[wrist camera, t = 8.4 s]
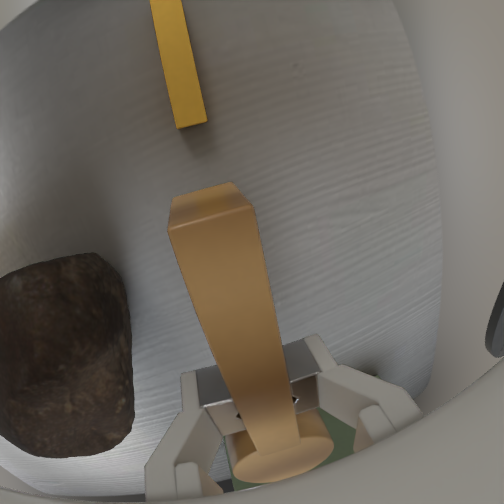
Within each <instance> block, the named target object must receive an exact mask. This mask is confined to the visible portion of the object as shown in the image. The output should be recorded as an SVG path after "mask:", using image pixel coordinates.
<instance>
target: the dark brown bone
mask: <svg viewBox="0 0 504 504" xmlns="http://www.w3.org/2000/svg"><path fill="white" fill-rule="evenodd" d="M131 348H132V333H131V323H130V314H129V310H128V305H127V299H126V293H125V289H124V286H123V283H122V280H121V278H120V276H119V275H118V273H117V272H116V271H115V270H114V268H113V267H112V266H111V265H110V264H109V263H108V262H106V261H105V260H104V259H103V258H101V257H100V256H99V255H98V254H96V253H84V254H76V255H72V256H66V257H61V258H57V259H53V260H50V261H46V262H39V263H36V264H32V265H29V266H26V267H23V268H21V269H19V270H16V271H13V272H11V273H8V274H7V275H5V276H3V277H1V278H0V435H1V436H3V437H4V438H5V439H6V440H8V441H9V442H11V443H12V444H14V445H15V446H16V447H18V448H20V449H21V450H23V451H25V452H27V453H29V454H31V455H34V456H37V457H46V458H68V457H77V456H91V455H95V454H99V453H102V452H105V451H109V450H111V449H112V448H114V447H115V446H116V445H118V444H119V443H121V442H122V441H123V439H124V438H125V437H126V436H127V435H128V434H129V433H130V432H131V429H132V424H133V421H134V418H135V410H134V387H133V368H132V354H131Z"/></svg>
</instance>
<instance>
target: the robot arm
mask: <svg viewBox="0 0 504 504" xmlns="http://www.w3.org/2000/svg"><path fill="white" fill-rule="evenodd" d="M282 347H283V352H284V357H285V362H286V367H287V372H288V377H289V384H290V389H291V394H292V398H293V404H294V409H295V415H296V414H299V413H302V412H306V411H309V410H312V409H314V408H317V407H320V408H321V409H323V410H324V411H326V412H327V413H329V414H331V415H332V416H334V417H336V418H337V419H339V420H341V421H342V422H344V423H346V424H347V425H349V426H351V427H353V428H354V429H356V434H355V440H354V445H353V450H354V452H355V453H353V454H351V455H349V456H346V457H344V458H342V459H339V460H337V461H334V462H332V463H329V464H327V465H324V466H321V467H319V468H316V469H313V470H310V471H307V472H304V473H301V474H298V475H295V476H292V477H289V478H286V479H282V480H279V481H275V482H272V483H268V484H264V485H260V486H256V487H252V488H248V489H243V490H239V491H234V492H229V493H223V489H221V487H220V486H218V485H217V484H216V483H215V482H214V481H213V480H212V479H211V478H210V477H209V476H208V473H209V471H210V468H211V466H212V463H213V461H214V458H215V456H216V454H217V451H218V449H219V446H220V444H221V441H222V439H223V437H222V436H225V435H229V434H232V433H236V432H240V431H243V430H247V429H246V427H245V425H244V423H243V420H242V419H241V417H240V415H239V412H238V410H237V408H236V405H235V403H234V401H233V399H232V397H231V395H230V393H229V391H228V388H227V386H226V384H225V382H224V379H223V377H222V375H221V372H220V370H219V368H218V365H214V366H210V367H205V368H201V369H196V370H193V371H189V372H184V373H181V377H180V378H181V395H182V409H183V412H181V413H178V414H177V416H176V418H175V419H174V421H173V422H172V424H171V426H170V427H169V429H168V430H167V432H166V433H165V435H164V437H163V438H162V440H161V441H160V443H159V444H158V446H157V448H156V449H155V451H154V452H153V454H152V455H151V457H150V459H149V460H148V462H147V463H146V465H145V466H144V467H145V497H146V502H136V503H135V502H134V503H133V502H132V503H119V502H117V503H116V502H115V503H114V502H93V501H80V500H71V499H62V498H55V497H48V496H43V495H37V494H31V493H27V492H22V491H18V490H14V489H10V488H6V487H2V486H0V504H504V358H502V359H501V360H500V361H499V362H498V363H497V364H496V365H494V366H493V367H492V368H491V369H490V370H489V371H487V372H486V373H485V374H484V375H482V376H481V377H480V378H479V379H477V380H476V381H475V382H473V383H472V384H471V385H470V386H468V387H467V388H466V389H464V390H463V391H461V392H460V393H459V394H457V395H456V396H455V397H453V398H452V399H450V400H449V401H447V402H446V403H444V404H443V405H442V406H440V407H438V408H437V409H435V410H434V411H432V412H431V413H429V414H427V415H426V416H424V414H423V413H422V412H421V410H420V409H419V408H418V406H417V405H416V404H415V402H414V401H413V400H412V398H411V397H410V396H409V394H408V393H407V392H406V390H405V389H404V388H403V387H400V386H397V385H394V384H392V383H389V382H387V381H384V380H381V379H379V378H376V377H374V376H371V375H368V374H366V373H363V372H361V371H358V370H356V369H353V368H351V367H349V366H346V365H344V364H341V365H339V366H338V364H337V363H336V361H335V360H334V358H333V356H332V355H331V353H330V352H329V350H328V349H327V347H326V345H325V344H324V342H323V341H322V339H321V338H320V336H319V335H318V334H313V335H311V336H308V337H305V338H302V339H299V340H297V341H294V342H291V343H288V344H285V345H282Z"/></svg>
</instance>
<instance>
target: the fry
mask: <svg viewBox="0 0 504 504" xmlns="http://www.w3.org/2000/svg"><path fill="white" fill-rule="evenodd" d="M150 6H151V11H152V16H153V22H154V27H155V32H156V37H157V42H158V47H159V52H160V57H161V62H162V66H163V71H164V76H165V80H166V85H167V89H168V94H169V98H170V103H171V107H172V111H173V116H174V120H175V124H176V128H177V129H181V128H185V127H189V126H193V125H197V124H201V123H205V122H207V121H208V120H207V115H206V111H205V107H204V102H203V98H202V93H201V89H200V84H199V80H198V75H197V71H196V66H195V62H194V57H193V53H192V48H191V44H190V39H189V34H188V30H187V25H186V20H185V16H184V11H183V6H182V1H181V0H150Z"/></svg>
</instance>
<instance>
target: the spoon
mask: <svg viewBox="0 0 504 504" xmlns="http://www.w3.org/2000/svg"><path fill="white" fill-rule="evenodd" d="M167 232H168V235H169V238H170V241H171V244H172V247H173V250H174V253H175V256H176V259H177V262H178V265H179V267H180V270H181V273H182V276H183V279H184V281H185V284H186V287H187V290H188V292H189V295H190V298H191V300H192V303H193V306H194V308H195V311H196V314H197V316H198V319H199V321H200V324H201V326H202V329H203V332H204V334H205V336H206V339H207V341H208V344H209V346H210V349H211V351H212V354H213V356H214V358H215V361H216V363H217V365H218V368H219V370H220V372H221V375H222V377H223V379H224V382H225V384H226V386H227V388H228V391H229V393H230V395H231V397H232V399H233V401H234V403H235V405H236V408H237V410H238V412H239V415H240V417H241V419H242V420H243V423H244V425H245V427H246V429H247V430H243V431H240V432H236V433H232V434H229V435H225V440H226V445H227V450H228V455H229V459H230V464H231V468H232V472H233V475H234V476H235V477H236V478H237V479H239V480H241V481H245V482H250V483H268V482H275V481H279V480H282V479H286V478H289V477H292V476H295V475H298V474H301V473H304V472H306V471H308V470H310V469H312V468H314V467H316V466H317V465H319V464H320V463H321V462H323V461H324V460H325V459H326V458H327V457H328V456H329V455H330V454H331V452H332V451H333V449H334V442H333V440H332V438H331V436H330V434H329V431H328V429H327V427H326V425H325V423H324V421H323V419H322V417H321V415H320V413H319V411H318V410H317V409H316V408H314V409H312V410H309V411H306V412H302V413H299V414H296V415H295V409H294V404H293V398H292V394H291V389H290V384H289V377H288V372H287V367H286V362H285V357H284V352H283V347H282V342H281V337H280V332H279V327H278V322H277V317H276V312H275V307H274V302H273V297H272V292H271V287H270V282H269V277H268V272H267V268H266V263H265V258H264V253H263V248H262V244H261V239H260V234H259V229H258V225H257V220H256V215H255V210H254V207H253V205H252V204H251V203H250V202H249V201H248V199H247V198H246V197H245V196H244V195H243V194H242V193H241V191H240V190H239V189H238V188H237V187H236V186H235V185H234V183H233V182H228V183H224V184H220V185H216V186H212V187H209V188H205V189H201V190H198V191H194V192H191V193H187V194H184V195H180V196H177V197H174V198H173V199H172V203H171V209H170V215H169V222H168V229H167Z"/></svg>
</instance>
